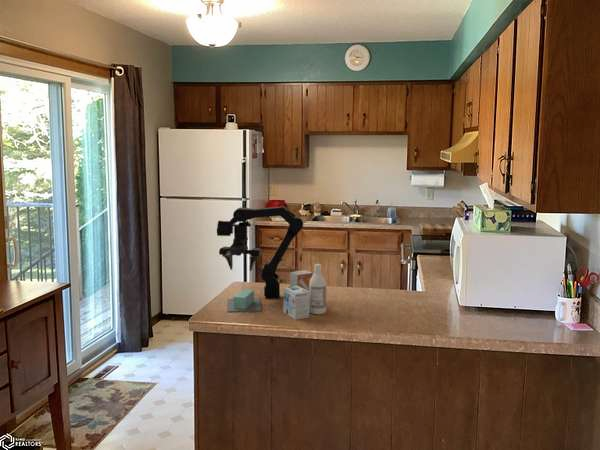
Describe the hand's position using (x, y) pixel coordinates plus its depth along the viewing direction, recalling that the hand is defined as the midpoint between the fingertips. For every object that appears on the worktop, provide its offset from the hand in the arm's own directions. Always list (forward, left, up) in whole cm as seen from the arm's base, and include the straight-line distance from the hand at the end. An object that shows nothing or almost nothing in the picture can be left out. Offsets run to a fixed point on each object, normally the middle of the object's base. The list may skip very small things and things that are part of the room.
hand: (241, 270), depth 244 cm
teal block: (-3, +9, -9) cm, 13 cm away
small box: (-26, +10, -12) cm, 30 cm away
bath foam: (-31, +26, -12) cm, 42 cm away
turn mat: (-1, +14, -12) cm, 18 cm away
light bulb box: (-22, +29, -12) cm, 38 cm away
